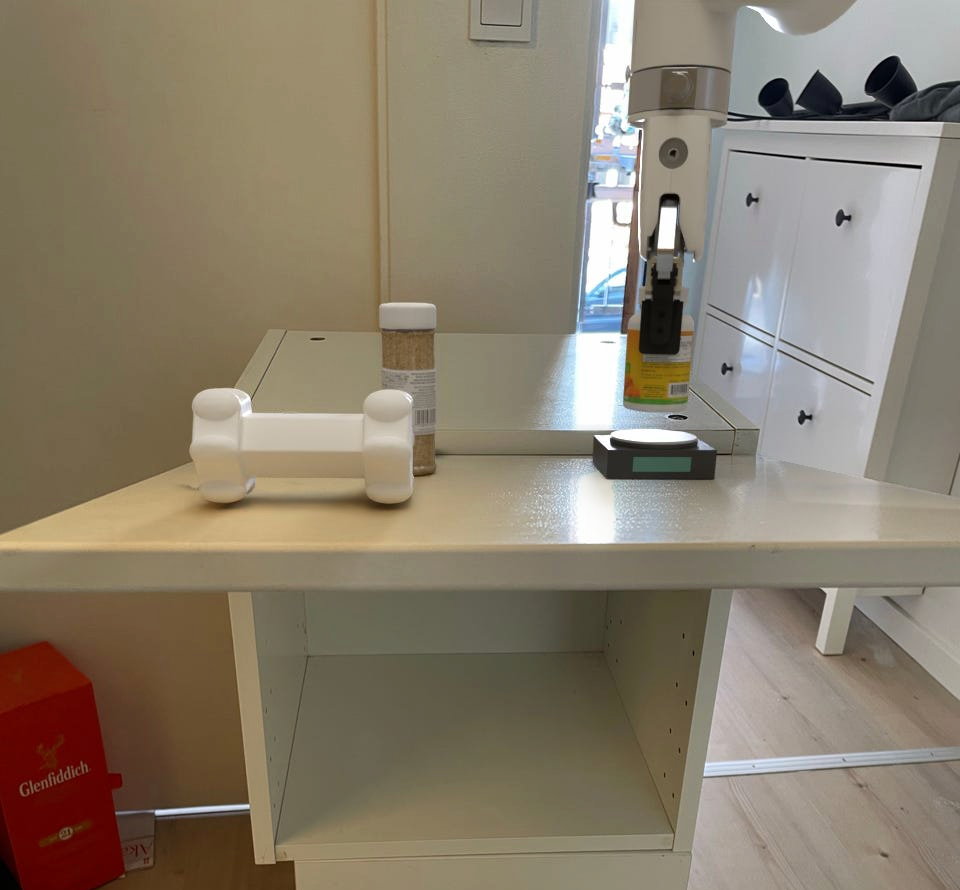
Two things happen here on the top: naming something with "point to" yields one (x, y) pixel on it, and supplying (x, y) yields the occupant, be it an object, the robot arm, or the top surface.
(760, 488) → the top surface
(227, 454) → the white bone
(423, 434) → the sprinkles bottle
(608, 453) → the scale
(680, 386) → the supplement bottle
